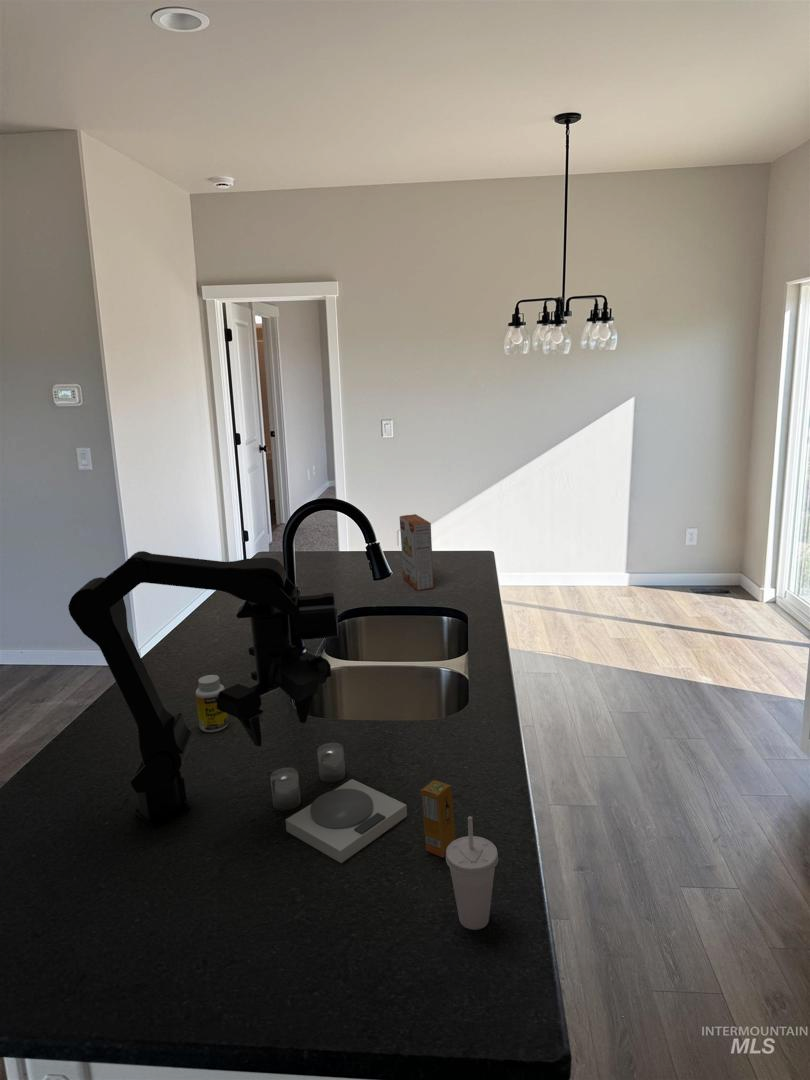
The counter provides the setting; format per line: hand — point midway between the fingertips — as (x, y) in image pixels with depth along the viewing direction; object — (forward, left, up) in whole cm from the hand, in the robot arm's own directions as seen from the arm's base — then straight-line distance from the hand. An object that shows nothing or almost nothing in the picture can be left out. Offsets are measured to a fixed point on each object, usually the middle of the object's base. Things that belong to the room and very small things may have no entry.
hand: (281, 733), depth 118 cm
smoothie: (-2, -39, -12) cm, 41 cm away
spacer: (0, 0, -12) cm, 12 cm away
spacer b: (+10, 0, -12) cm, 15 cm away
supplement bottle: (+8, +32, -12) cm, 35 cm away
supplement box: (+6, -27, -12) cm, 30 cm away
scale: (+2, -12, -12) cm, 17 cm away
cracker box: (+102, +60, -12) cm, 119 cm away
